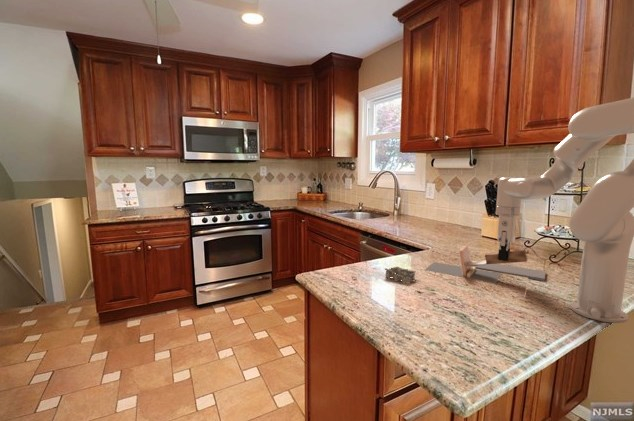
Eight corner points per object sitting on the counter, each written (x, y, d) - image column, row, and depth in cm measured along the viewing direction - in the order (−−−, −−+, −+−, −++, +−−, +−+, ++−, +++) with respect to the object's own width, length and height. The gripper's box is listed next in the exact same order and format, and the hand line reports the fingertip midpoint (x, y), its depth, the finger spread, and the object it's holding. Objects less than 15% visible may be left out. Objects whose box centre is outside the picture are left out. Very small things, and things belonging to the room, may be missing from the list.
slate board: (544, 281, 115) (544, 278, 115) (474, 269, 130) (474, 266, 130) (545, 273, 123) (545, 271, 123) (478, 263, 138) (478, 260, 137)
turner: (527, 258, 113) (525, 249, 114) (526, 262, 109) (524, 252, 109) (469, 262, 126) (467, 254, 126) (466, 266, 121) (464, 257, 121)
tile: (466, 275, 120) (462, 250, 119) (462, 275, 120) (459, 250, 120) (471, 269, 128) (468, 245, 127) (468, 269, 128) (464, 245, 128)
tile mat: (495, 284, 112) (496, 280, 112) (424, 270, 128) (424, 266, 128) (500, 274, 123) (501, 270, 122) (434, 263, 138) (434, 259, 138)
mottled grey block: (382, 277, 121) (383, 267, 121) (393, 273, 127) (393, 263, 126) (407, 285, 114) (407, 274, 113) (417, 279, 119) (417, 269, 118)
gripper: (517, 214, 104) (512, 266, 107) (521, 209, 117) (517, 255, 120) (492, 212, 109) (488, 262, 112) (499, 207, 122) (495, 252, 124)
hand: (503, 258), depth 116 cm, fingers closed on turner, 2 cm apart
